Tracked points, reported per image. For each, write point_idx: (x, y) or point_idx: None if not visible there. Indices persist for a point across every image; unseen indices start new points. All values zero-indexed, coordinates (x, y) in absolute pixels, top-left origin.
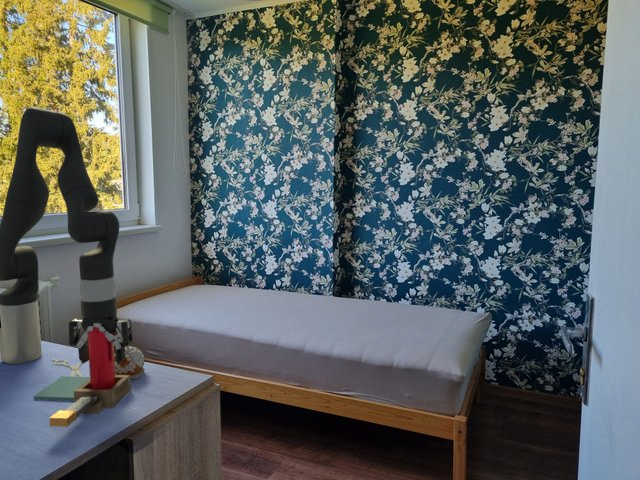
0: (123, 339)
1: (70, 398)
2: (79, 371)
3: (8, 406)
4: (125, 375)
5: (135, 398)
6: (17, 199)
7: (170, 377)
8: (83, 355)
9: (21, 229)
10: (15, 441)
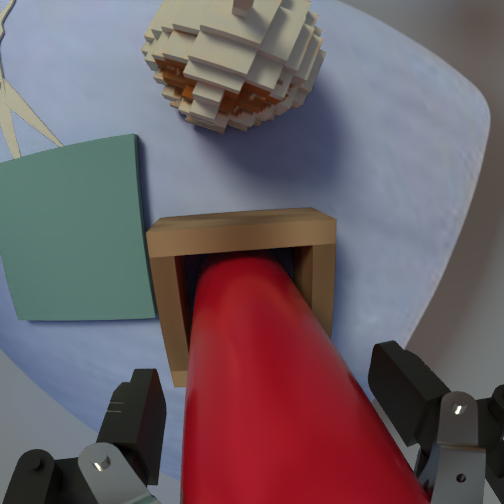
0: (486, 472)
1: (129, 317)
2: (15, 92)
3: (8, 351)
4: (314, 222)
5: (354, 264)
6: None
7: (404, 90)
8: (161, 445)
9: None
10: (165, 463)
